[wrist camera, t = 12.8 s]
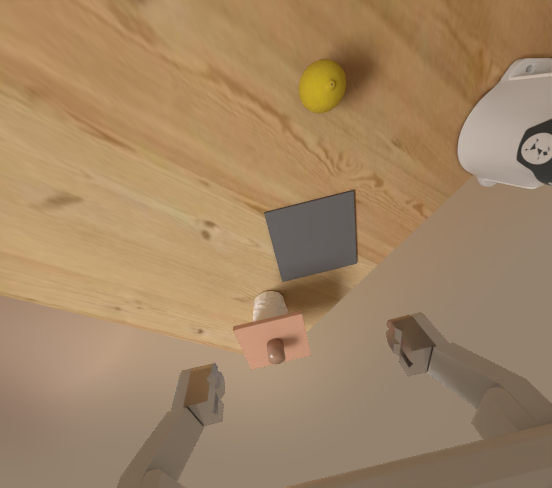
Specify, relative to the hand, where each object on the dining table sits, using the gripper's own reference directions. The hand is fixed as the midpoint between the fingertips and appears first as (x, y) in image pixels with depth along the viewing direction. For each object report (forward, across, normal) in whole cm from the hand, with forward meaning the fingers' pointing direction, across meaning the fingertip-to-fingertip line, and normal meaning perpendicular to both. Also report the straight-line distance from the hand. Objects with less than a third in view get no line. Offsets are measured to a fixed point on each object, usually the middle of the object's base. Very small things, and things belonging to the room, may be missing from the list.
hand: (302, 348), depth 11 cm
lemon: (+31, -10, -10) cm, 34 cm away
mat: (+31, -7, +14) cm, 35 cm away
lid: (+21, +5, +27) cm, 35 cm away
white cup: (+31, +5, +27) cm, 42 cm away
